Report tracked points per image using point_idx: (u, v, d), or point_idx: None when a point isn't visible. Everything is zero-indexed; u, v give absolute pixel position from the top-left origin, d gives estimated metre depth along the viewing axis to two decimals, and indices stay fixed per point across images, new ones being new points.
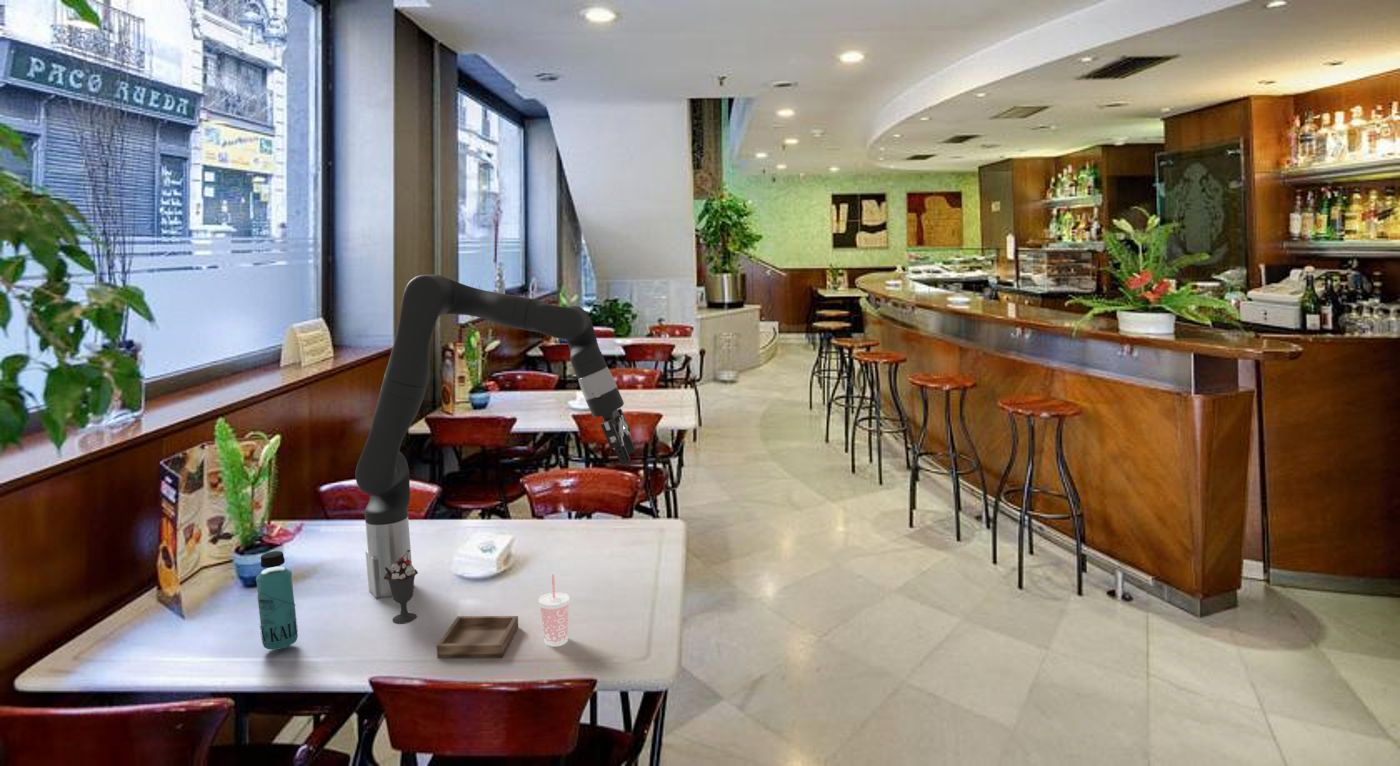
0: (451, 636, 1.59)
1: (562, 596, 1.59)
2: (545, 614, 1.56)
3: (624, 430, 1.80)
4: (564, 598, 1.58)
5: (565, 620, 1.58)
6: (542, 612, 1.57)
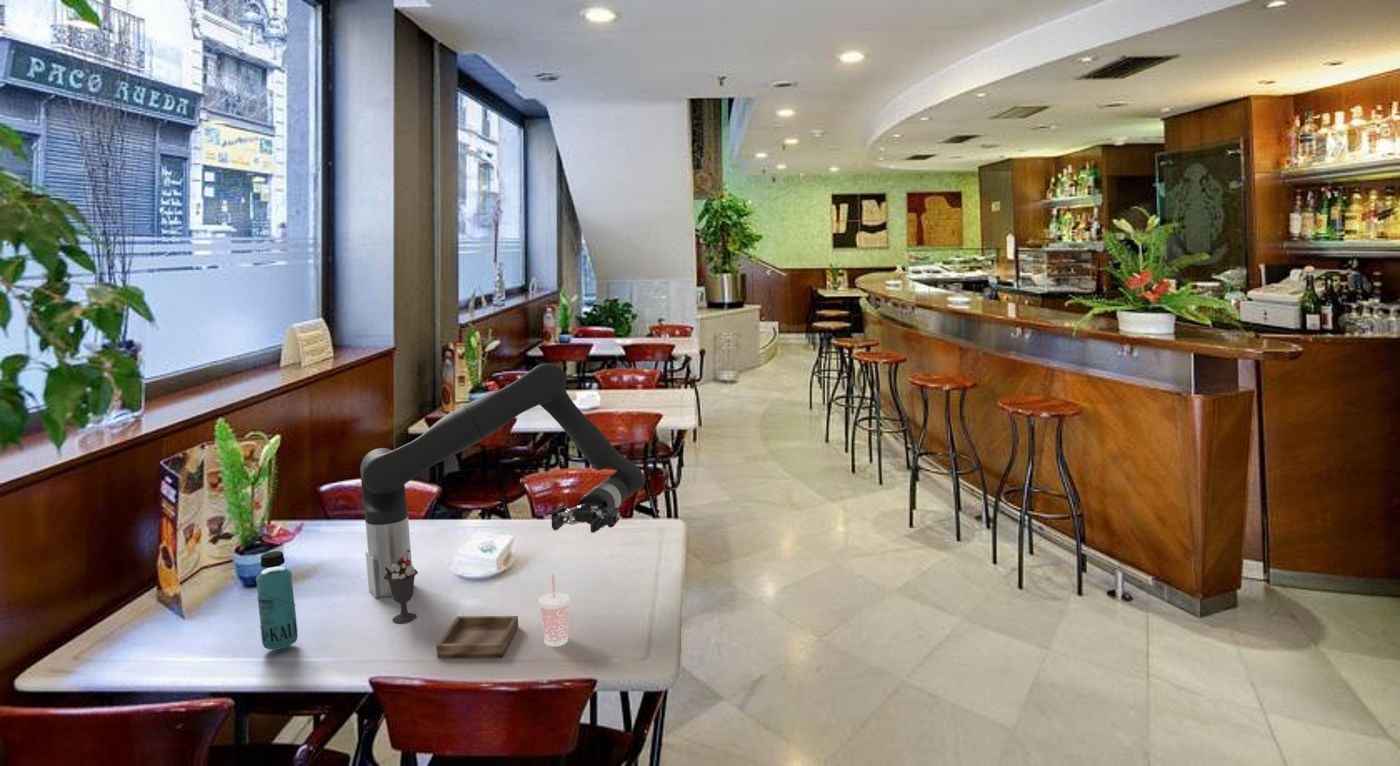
0: (451, 636, 1.59)
1: (562, 596, 1.59)
2: (545, 614, 1.56)
3: (570, 521, 1.73)
4: (564, 598, 1.58)
5: (565, 620, 1.58)
6: (542, 612, 1.57)
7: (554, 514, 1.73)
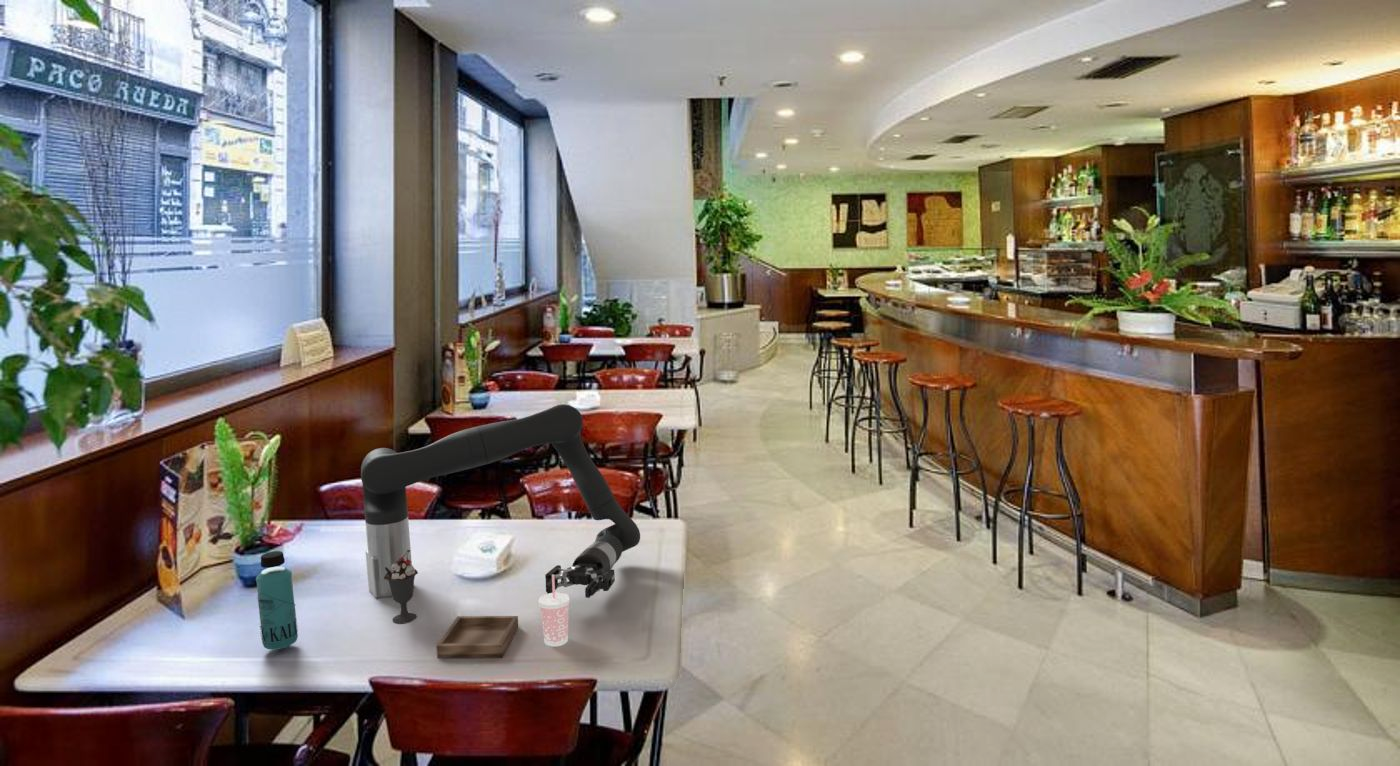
0: (451, 636, 1.59)
1: (562, 596, 1.59)
2: (545, 614, 1.56)
3: (565, 583, 1.71)
4: (564, 598, 1.58)
5: (565, 620, 1.58)
6: (542, 612, 1.57)
7: (548, 576, 1.70)
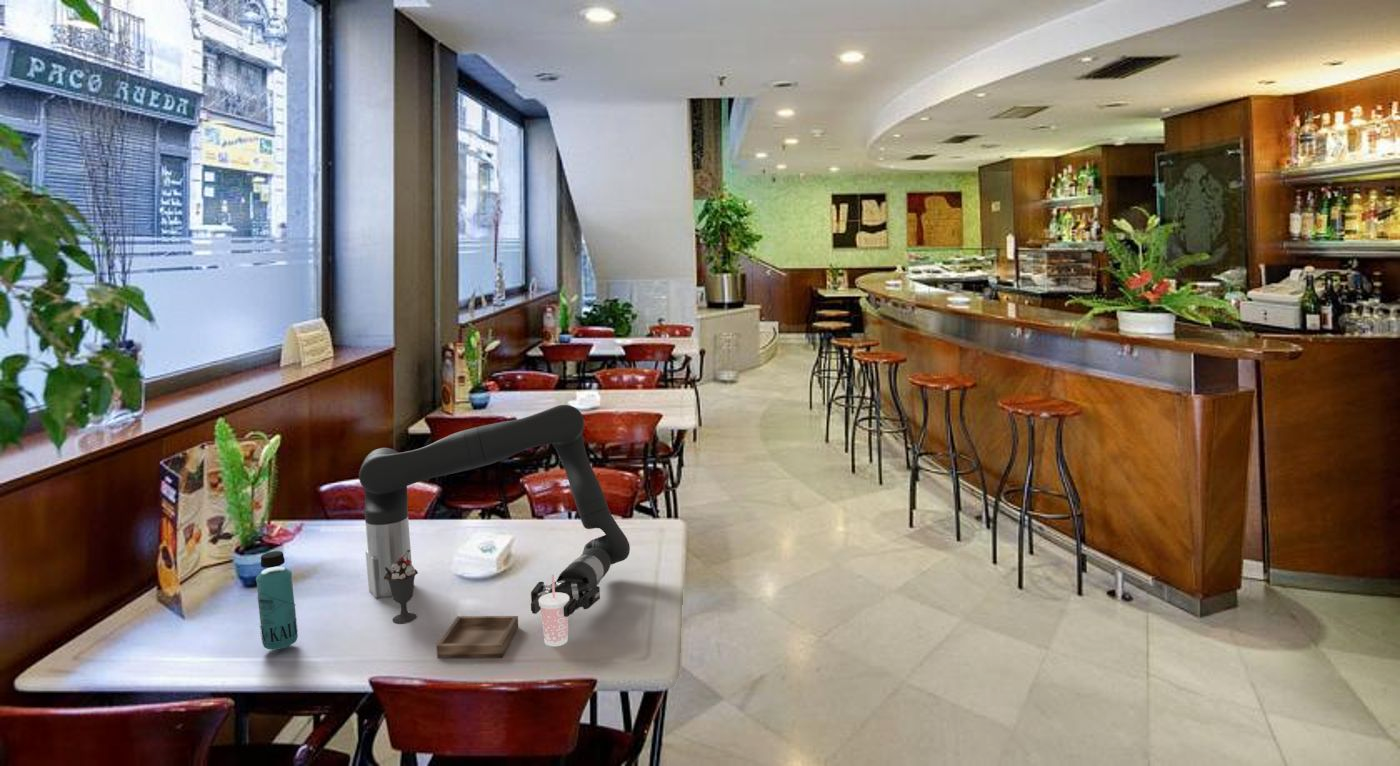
0: (451, 636, 1.59)
1: (562, 596, 1.59)
2: (545, 614, 1.56)
3: None
4: (564, 598, 1.58)
5: (565, 620, 1.58)
6: (542, 612, 1.57)
7: (534, 594, 1.61)
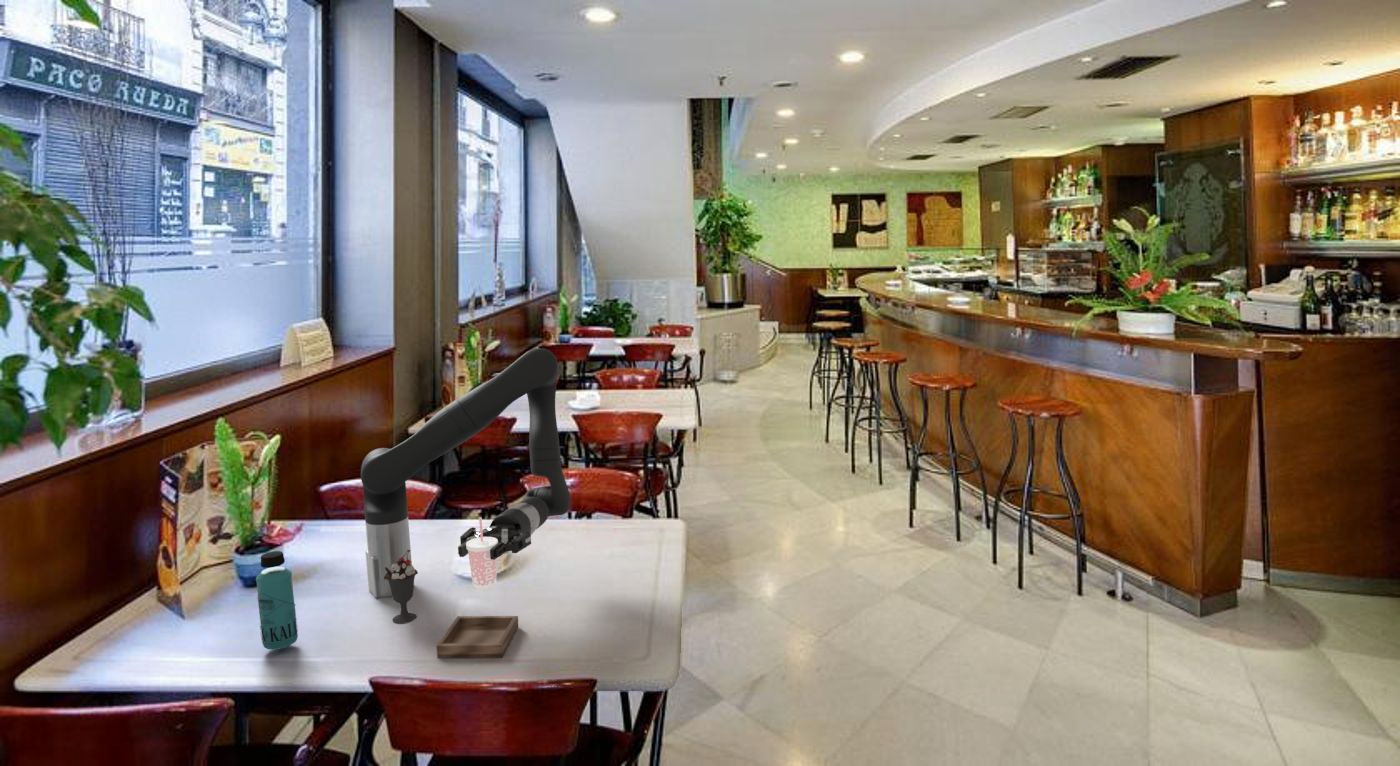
0: (451, 636, 1.59)
1: (491, 540, 1.57)
2: (472, 557, 1.54)
3: None
4: (492, 542, 1.56)
5: (493, 564, 1.55)
6: (469, 555, 1.55)
7: (464, 538, 1.59)
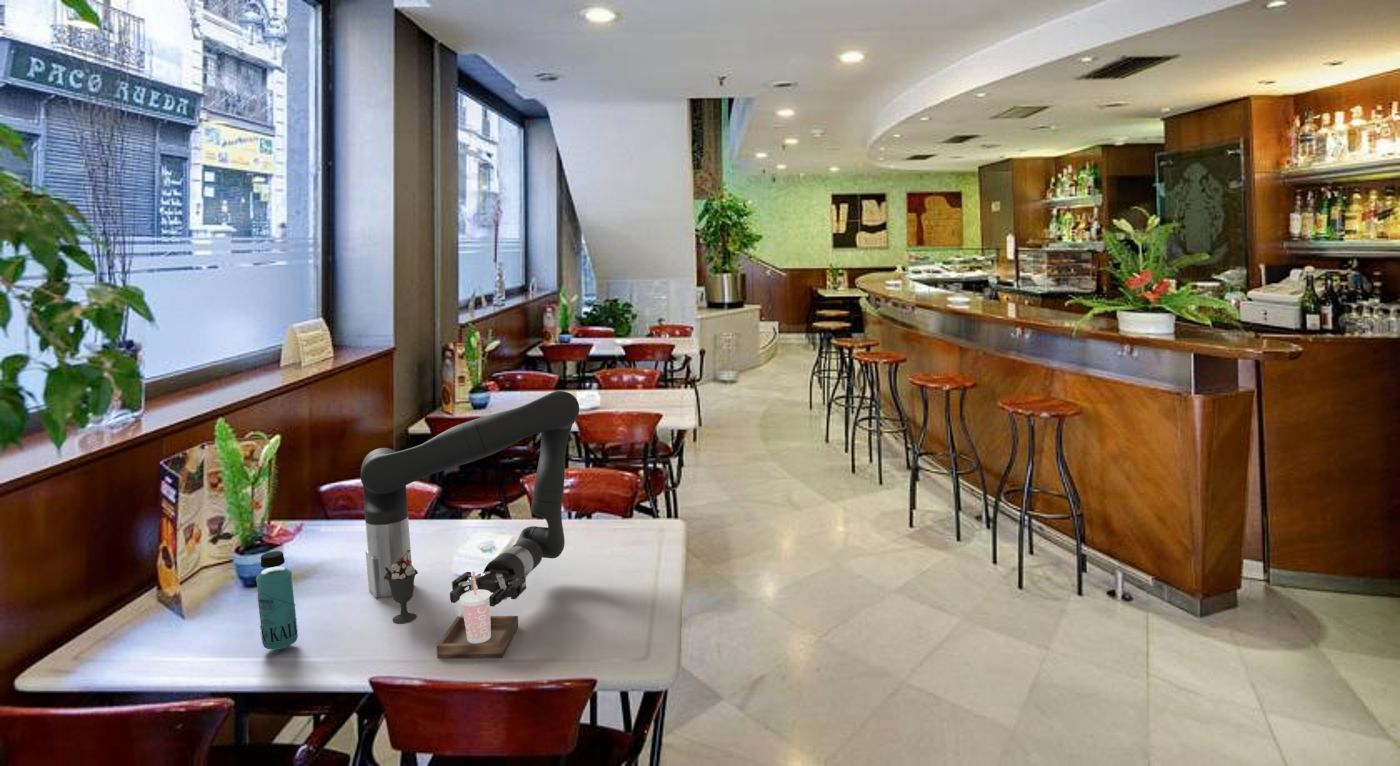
0: (451, 636, 1.59)
1: (484, 593, 1.59)
2: (466, 611, 1.56)
3: None
4: (486, 595, 1.58)
5: (487, 617, 1.58)
6: (463, 609, 1.57)
7: (455, 584, 1.62)
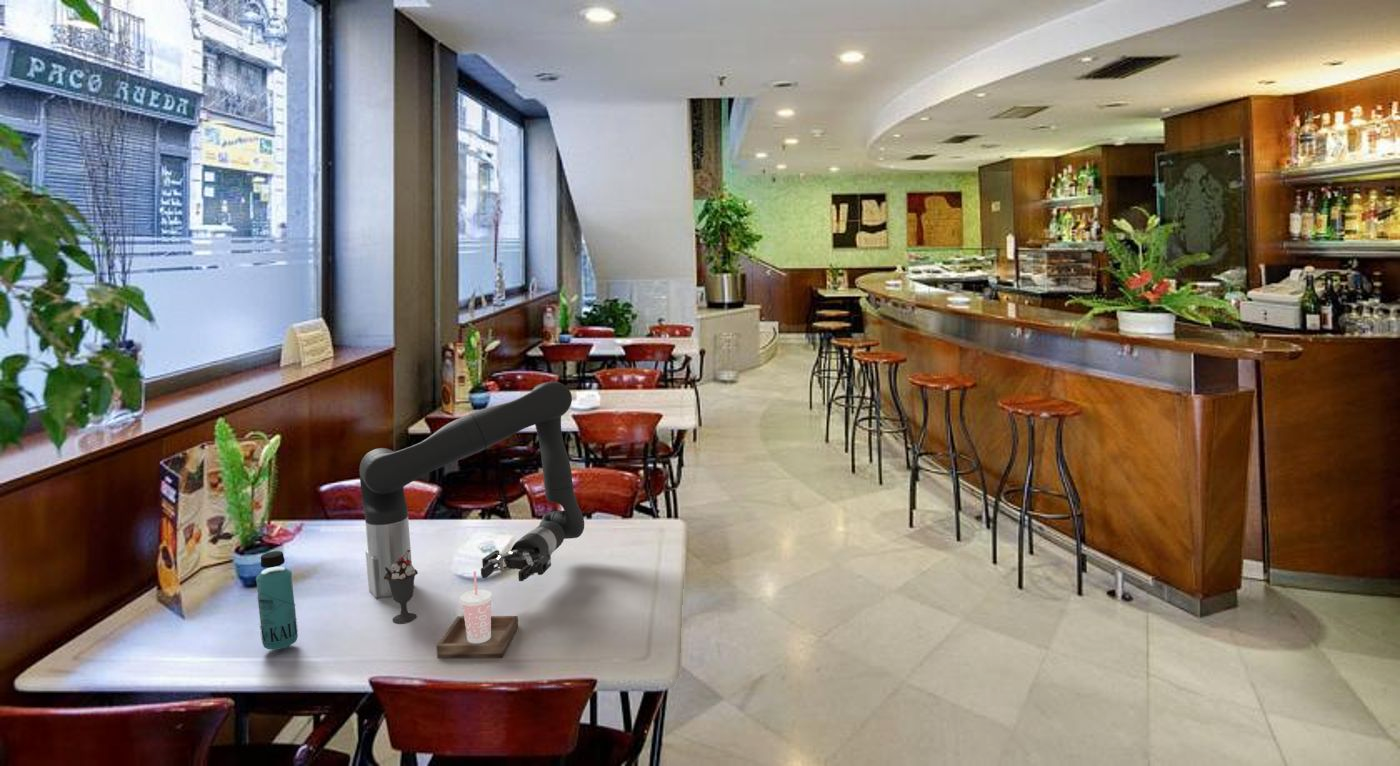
0: (451, 636, 1.59)
1: (485, 593, 1.59)
2: (466, 611, 1.56)
3: (501, 567, 1.74)
4: (487, 595, 1.58)
5: (487, 617, 1.58)
6: (464, 609, 1.57)
7: (485, 561, 1.74)
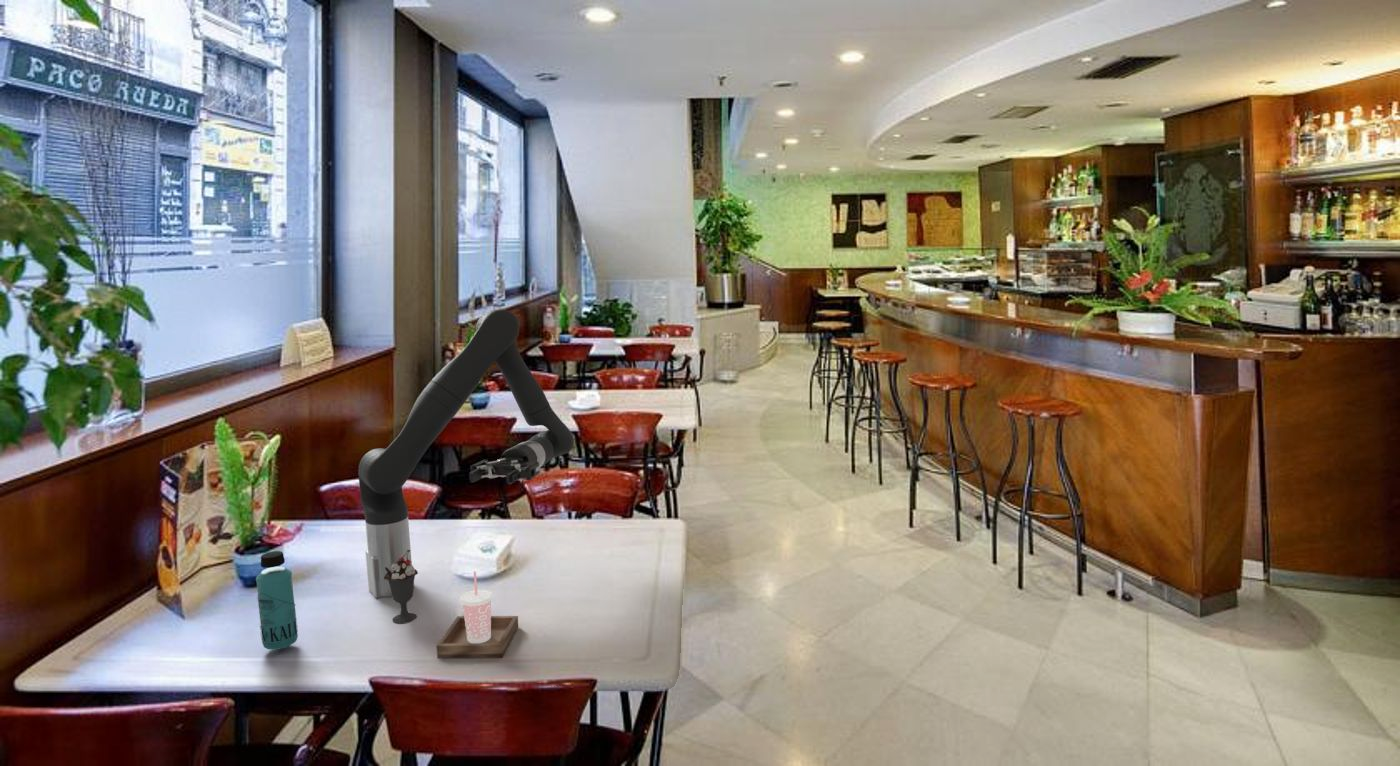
0: (451, 636, 1.59)
1: (485, 593, 1.59)
2: (466, 611, 1.56)
3: (490, 474, 1.75)
4: (487, 595, 1.58)
5: (487, 617, 1.58)
6: (464, 609, 1.57)
7: (473, 467, 1.74)
